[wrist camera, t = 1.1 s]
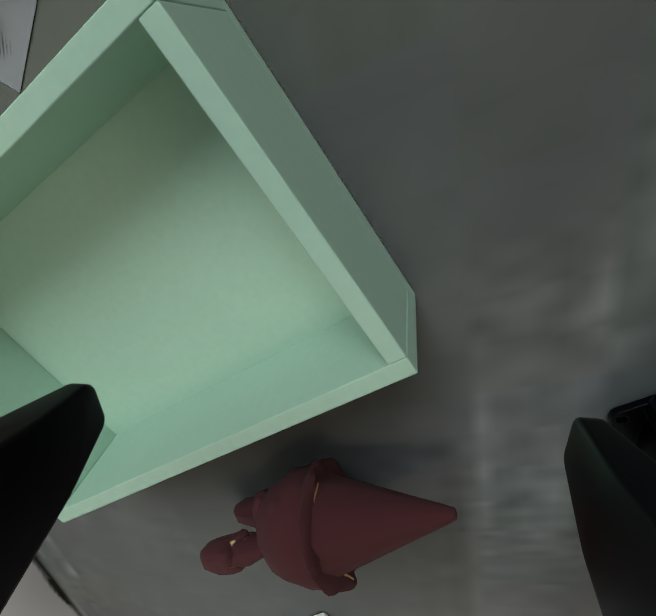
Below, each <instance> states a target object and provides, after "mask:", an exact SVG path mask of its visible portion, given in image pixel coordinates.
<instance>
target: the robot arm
mask: <svg viewBox="0 0 656 616" xmlns="http://www.w3.org/2000/svg"><path fill="white" fill-rule="evenodd" d="M608 416H609V419H610V421H611V423H612V425H613V427H614V428H613V427H612V426H611V425H610V424H608V423H607V422H606V421H604V420H602V419H597V418H582V417H579V418H577V419H575V420H574V422H573V424H572V428H571V431H570V435H569V438H568V442H567V445H566V449H565V453H564V464H565V470H566V475H567V479H568V484H569V489H570V494H571V499H572V504H573V509H574V514H575V518H576V523H577V528H578V533H579V538H580V542H581V547H582V551H583V555H584V558H585V562H586V565H587V568H588V571H589V575H590V578H591V581H592V584H593V587H594V590H595V593H596V596H597V599H598V602H599V605H600V608H601V611H602V614H603V616H656V395H653V396H650V397H647V398H644V399H641V400H638V401H635V402H632V403H629V404H626V405H623V406H619V407H616V408H614V409H612V410H611V411H610V412H609V415H608ZM621 416H624V417H622V418H619V417H621ZM104 423H105V415H104V412H103V409H102V407H101V404H100V401H99V399H98V396H97V393H96V390H95V389H94V387H93V386H92V385H89V384H80V383H71V384H68V385H65V386H63V387H61V388H59V389H57V390H55V391H53V392H51V393H49V394H47V395H45V396H43V397H41V398H39V399H37V400H35V401H33V402H30V403H28V404H26V405H24V406H22V407H20V408H18V409H16V410H14V411H12V412H10V413H8V414H6V415H4V416H2V417H0V614H1V612H2V610H3V609H4V607H5V605H6V604H7V602H8V600H9V599H10V597H11V595H12V594H13V592H14V590H15V589H16V587H17V585H18V583H19V582H20V580H21V578H22V577H23V575H24V573H25V572H26V570H27V568H28V567H29V565H30V563H31V562H32V560H33V558H34V557H35V555H36V553H37V552H38V550H39V548H40V547H41V545H42V543H43V542H44V540H45V538H46V537H47V535H48V533H49V532H50V530H51V528H52V527H53V525H54V523H55V522H56V520H57V518H58V517H59V515H60V513H61V512H62V510H63V508H64V506H65V505H66V503H67V501H68V499H69V498H70V496H71V494H72V492H73V490H74V488H75V486H76V484H77V482H78V480H79V477H80V475H81V473H82V471H83V469H84V467H85V465H86V463H87V461H88V459H89V456H90V454H91V452H92V450H93V448H94V446H95V444H96V442H97V440H98V438H99V435H100V433H101V431H102V429H103V427H104Z"/></svg>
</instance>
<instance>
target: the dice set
mask: <svg viewBox="0 0 656 616" xmlns="http://www.w3.org/2000/svg"><path fill="white" fill-rule="evenodd" d="M36 3H37V0H0V81H1V82H3V83H4V84H6V85H8V86H9V87H11V88H13V89H14V90H16V91H18V92H19V93H20V89H21V84H22V78H23V73H24V67H25V62H26V57H27V51H28V46H29V40H30V35H31V30H32V24H33V19H34V13H35V8H36Z"/></svg>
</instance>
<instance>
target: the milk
mask: <svg viewBox="0 0 656 616" xmlns="http://www.w3.org/2000/svg"><path fill="white" fill-rule="evenodd" d="M314 616H328V615H327V614H326V613H324V612H323V613H320V614H317V615H314Z"/></svg>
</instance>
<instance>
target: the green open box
mask: <svg viewBox="0 0 656 616" xmlns="http://www.w3.org/2000/svg"><path fill="white" fill-rule="evenodd" d="M417 372H418V367H417V335H416V303H415V293H414V292H413V290H412V288H411V287H410V285H409V284H408V282H407V281H406V279H405V278H404V276H403V275H402V273H401V272H400V270H399V268H398V267H397V265H396V264H395V262H394V261H393V259H392V258H391V256H390V255H389V253H388V251H387V250H386V248H385V247H384V245H383V244H382V242H381V241H380V239H379V238H378V236H377V235H376V233H375V231H374V230H373V228H372V227H371V225H370V224H369V222H368V221H367V219H366V218H365V216H364V215H363V213H362V211H361V210H360V208H359V207H358V205H357V204H356V202H355V201H354V199H353V198H352V196H351V194H350V193H349V191H348V190H347V188H346V187H345V185H344V184H343V182H342V181H341V179H340V178H339V176H338V174H337V173H336V171H335V170H334V168H333V167H332V165H331V164H330V162H329V161H328V159H327V157H326V156H325V154H324V153H323V151H322V150H321V148H320V147H319V145H318V144H317V142H316V141H315V139H314V137H313V136H312V134H311V133H310V131H309V130H308V128H307V127H306V125H305V124H304V122H303V120H302V119H301V117H300V116H299V114H298V113H297V111H296V110H295V108H294V107H293V105H292V104H291V102H290V100H289V99H288V97H287V96H286V94H285V93H284V91H283V90H282V88H281V87H280V85H279V84H278V82H277V80H276V79H275V77H274V76H273V74H272V73H271V71H270V70H269V68H268V67H267V65H266V63H265V62H264V60H263V59H262V57H261V56H260V54H259V53H258V51H257V50H256V48H255V47H254V45H253V43H252V42H251V40H250V39H249V37H248V36H247V34H246V33H245V31H244V30H243V28H242V26H241V25H240V23H239V22H238V20H237V19H236V17H235V16H234V14H233V13H232V11H231V10H230V8H229V6H228V5H227V3H226V2H225V0H106V2H105V3H104V4H103V5H102V6H101V7H100V8H99V9H98V10H97V11H96V12H95V14H94V15H93V16H92V17H91V18H90V19H89V20H88V21H87V22H86V23H85V24H84V26H83V27H82V28H81V29H80V30H79V31H78V32H77V33H76V34H75V35H74V36H73V38H72V39H71V40H70V41H69V42H68V43H67V44H66V45H65V46H64V47H63V48H62V50H61V51H60V52H59V53H58V54H57V55H56V56H55V57H54V58H53V59H52V61H51V62H50V63H49V64H48V65H47V66H46V67H45V68H44V69H43V70H42V71H41V73H40V74H39V75H38V76H37V77H36V78H35V79H34V80H33V81H32V82H31V83H30V85H29V86H28V87H27V88H26V89H25V90H24V91H23V92H22V93H21V94H20V95H19V97H18V98H17V99H16V100H15V101H14V102H13V103H12V104H11V105H10V106H9V107H8V109H7V110H6V111H5V112H4V113H3V114H2V115H1V116H0V417H2V416H4V415H6V414H8V413H10V412H12V411H14V410H16V409H18V408H20V407H22V406H24V405H26V404H28V403H30V402H33V401H35V400H37V399H39V398H41V397H43V396H45V395H47V394H49V393H51V392H53V391H55V390H57V389H59V388H61V387H63V386H65V385H68V384H71V383H80V384H89V385H92V386H93V387H94V389H95V390H96V393H97V396H98V399H99V401H100V404H101V407H102V409H103V412H104V415H105V423H104V427H103V429H102V431H101V433H100V435H99V438H98V440H97V442H96V444H95V446H94V448H93V450H92V452H91V454H90V456H89V459H88V461H87V463H86V465H85V467H84V469H83V471H82V473H81V475H80V477H79V480H78V482H77V484H76V486H75V488H74V490H73V492H72V494H71V496H70V498H69V499H68V501H67V503H66V505H65V506H64V508H63V510H62V512H61V513H60V515H59V517H58V519H59V520H61V521H62V522H63V523H64V522H67V521H69V520H71V519H74V518H76V517H78V516H81V515H83V514H86V513H88V512H90V511H93V510H95V509H97V508H100V507H102V506H104V505H107V504H109V503H112V502H114V501H116V500H119V499H121V498H123V497H126V496H128V495H130V494H133V493H135V492H138V491H140V490H142V489H145V488H147V487H149V486H152V485H154V484H156V483H159V482H161V481H163V480H166V479H168V478H171V477H173V476H175V475H178V474H180V473H182V472H185V471H187V470H189V469H192V468H194V467H197V466H199V465H201V464H204V463H206V462H208V461H211V460H213V459H215V458H218V457H220V456H223V455H225V454H227V453H230V452H232V451H234V450H237V449H239V448H241V447H244V446H246V445H249V444H251V443H253V442H256V441H258V440H260V439H263V438H265V437H267V436H270V435H272V434H274V433H277V432H279V431H282V430H284V429H286V428H289V427H291V426H293V425H296V424H298V423H300V422H303V421H305V420H308V419H310V418H312V417H315V416H317V415H319V414H322V413H324V412H326V411H329V410H331V409H334V408H336V407H338V406H341V405H343V404H345V403H348V402H350V401H352V400H355V399H357V398H359V397H362V396H364V395H367V394H369V393H371V392H374V391H376V390H378V389H381V388H383V387H385V386H388V385H390V384H393V383H395V382H397V381H400V380H402V379H404V378H407V377H409V376H411V375H414V374H416V373H417Z"/></svg>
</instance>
